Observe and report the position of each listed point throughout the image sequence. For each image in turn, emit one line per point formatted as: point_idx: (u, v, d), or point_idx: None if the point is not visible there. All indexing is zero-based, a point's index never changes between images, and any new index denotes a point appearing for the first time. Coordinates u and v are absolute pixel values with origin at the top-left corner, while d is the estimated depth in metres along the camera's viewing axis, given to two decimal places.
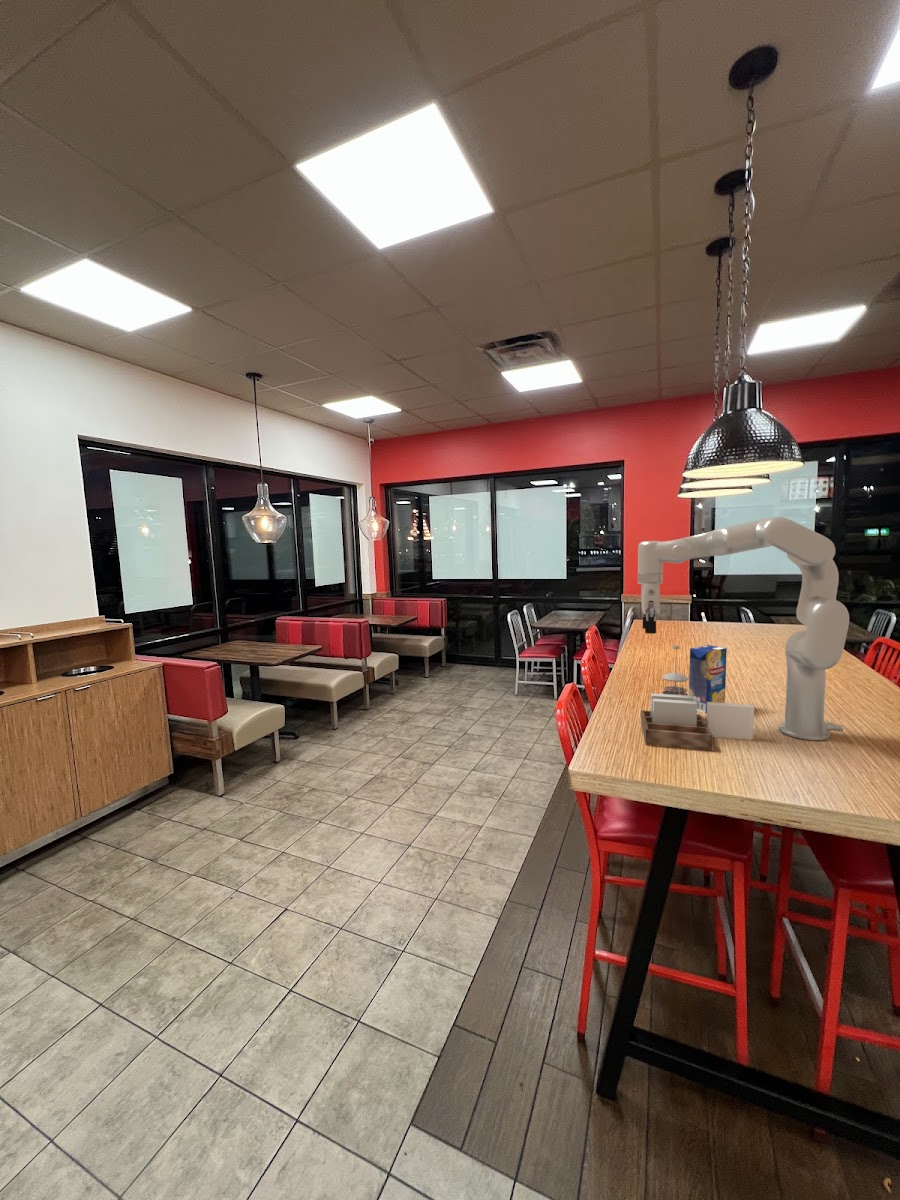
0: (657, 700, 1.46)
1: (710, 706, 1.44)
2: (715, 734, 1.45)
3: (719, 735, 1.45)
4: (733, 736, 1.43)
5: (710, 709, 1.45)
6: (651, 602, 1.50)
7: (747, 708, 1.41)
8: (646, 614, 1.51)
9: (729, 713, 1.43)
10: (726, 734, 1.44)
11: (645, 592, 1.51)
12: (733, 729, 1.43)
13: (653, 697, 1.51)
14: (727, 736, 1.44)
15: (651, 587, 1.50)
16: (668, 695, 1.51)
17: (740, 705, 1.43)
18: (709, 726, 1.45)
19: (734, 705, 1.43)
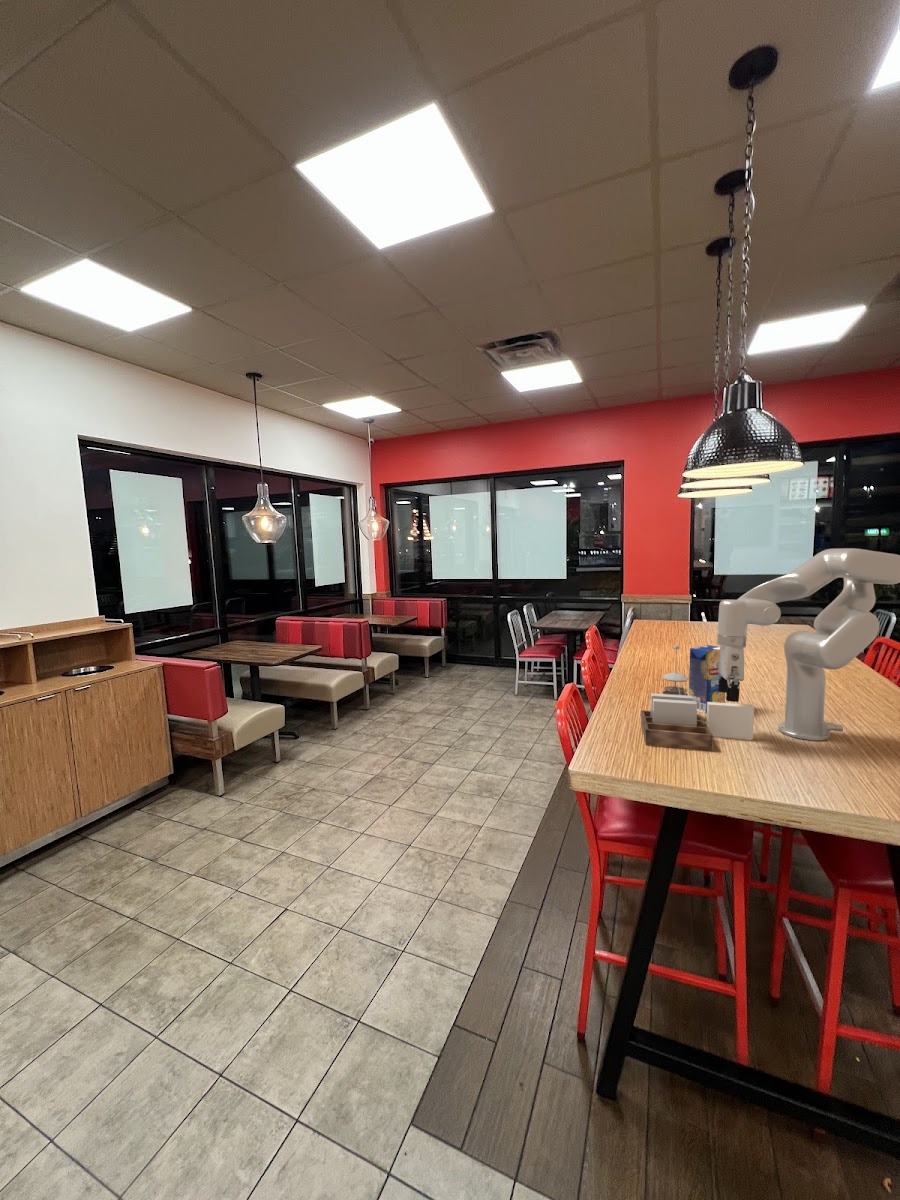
0: (657, 700, 1.46)
1: (710, 706, 1.44)
2: (715, 734, 1.45)
3: (719, 735, 1.45)
4: (733, 736, 1.43)
5: (710, 709, 1.45)
6: (735, 668, 1.38)
7: (747, 708, 1.41)
8: (728, 680, 1.39)
9: (729, 713, 1.43)
10: (726, 734, 1.44)
11: (728, 656, 1.39)
12: (733, 729, 1.43)
13: (653, 697, 1.51)
14: (727, 736, 1.44)
15: (735, 651, 1.38)
16: (668, 695, 1.51)
17: (740, 705, 1.43)
18: (709, 726, 1.45)
19: (734, 705, 1.43)
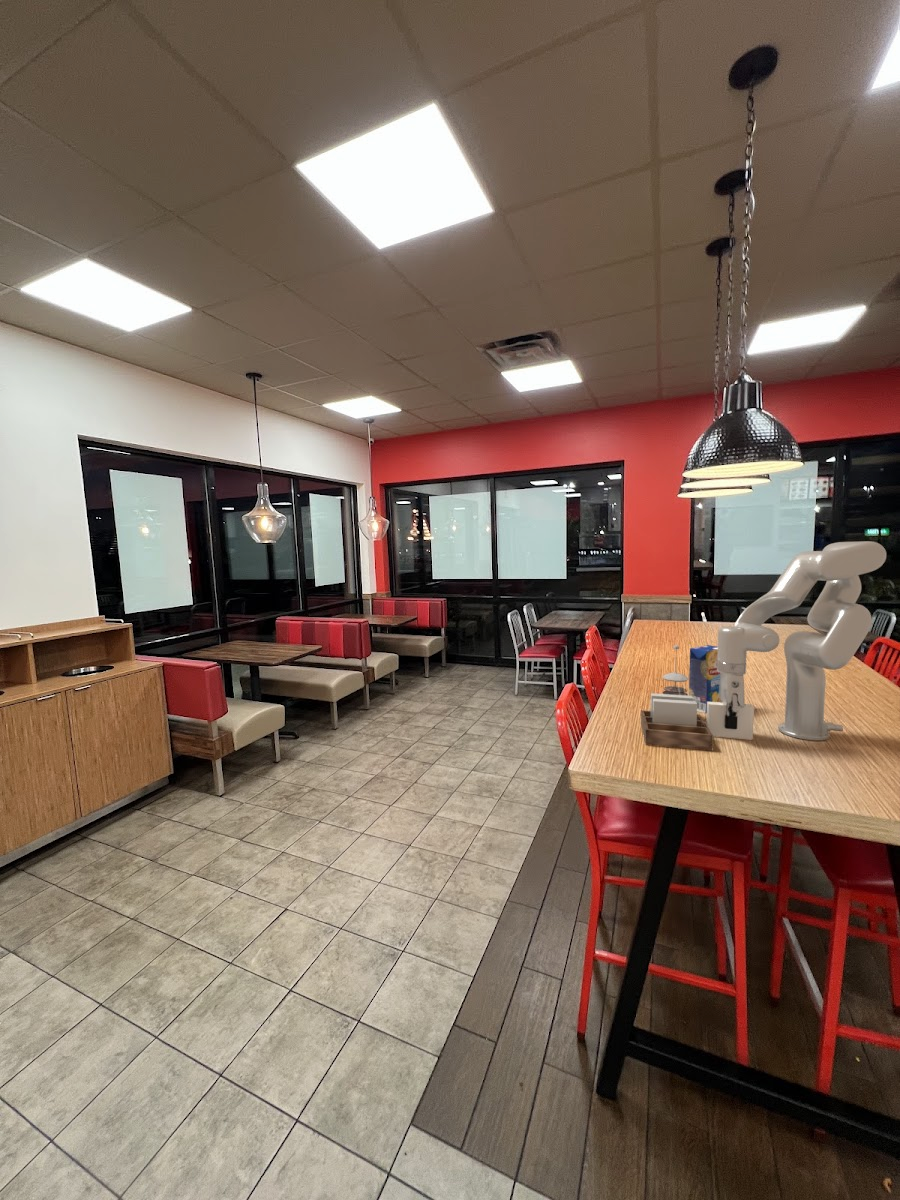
0: (657, 700, 1.46)
1: (710, 706, 1.44)
2: (715, 734, 1.45)
3: (719, 735, 1.44)
4: (733, 736, 1.43)
5: (710, 709, 1.45)
6: (734, 698, 1.39)
7: (747, 708, 1.41)
8: (727, 709, 1.42)
9: None
10: (726, 734, 1.44)
11: (728, 684, 1.40)
12: (733, 729, 1.43)
13: (653, 697, 1.51)
14: (727, 736, 1.44)
15: (735, 679, 1.39)
16: (668, 695, 1.51)
17: None
18: (709, 726, 1.45)
19: None
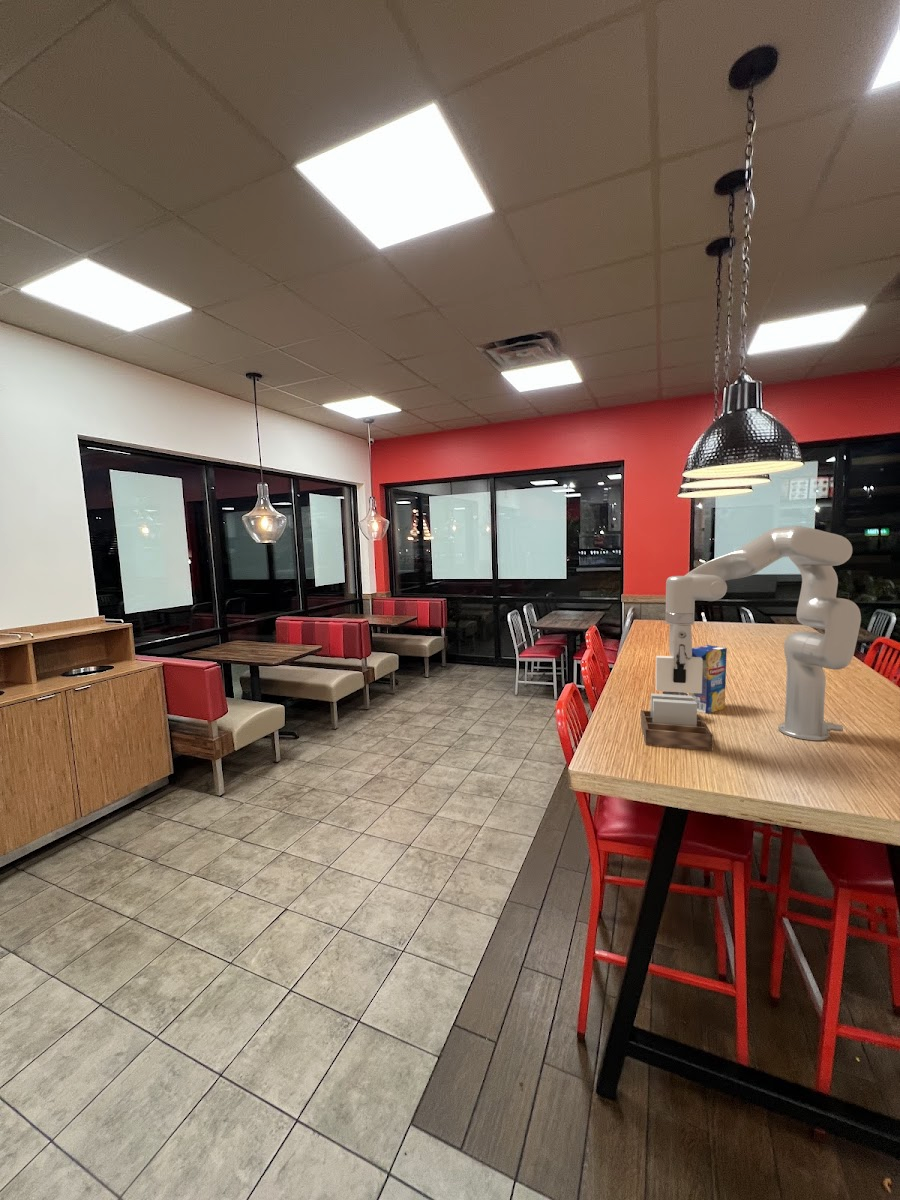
0: (657, 700, 1.46)
1: (658, 659, 1.39)
2: (663, 688, 1.39)
3: (668, 689, 1.39)
4: (682, 690, 1.37)
5: (658, 662, 1.39)
6: (682, 649, 1.33)
7: (695, 660, 1.36)
8: (675, 662, 1.36)
9: None
10: (675, 688, 1.38)
11: (675, 634, 1.34)
12: (682, 683, 1.37)
13: (653, 697, 1.51)
14: (676, 690, 1.38)
15: (682, 629, 1.33)
16: (668, 695, 1.51)
17: None
18: (657, 680, 1.39)
19: None
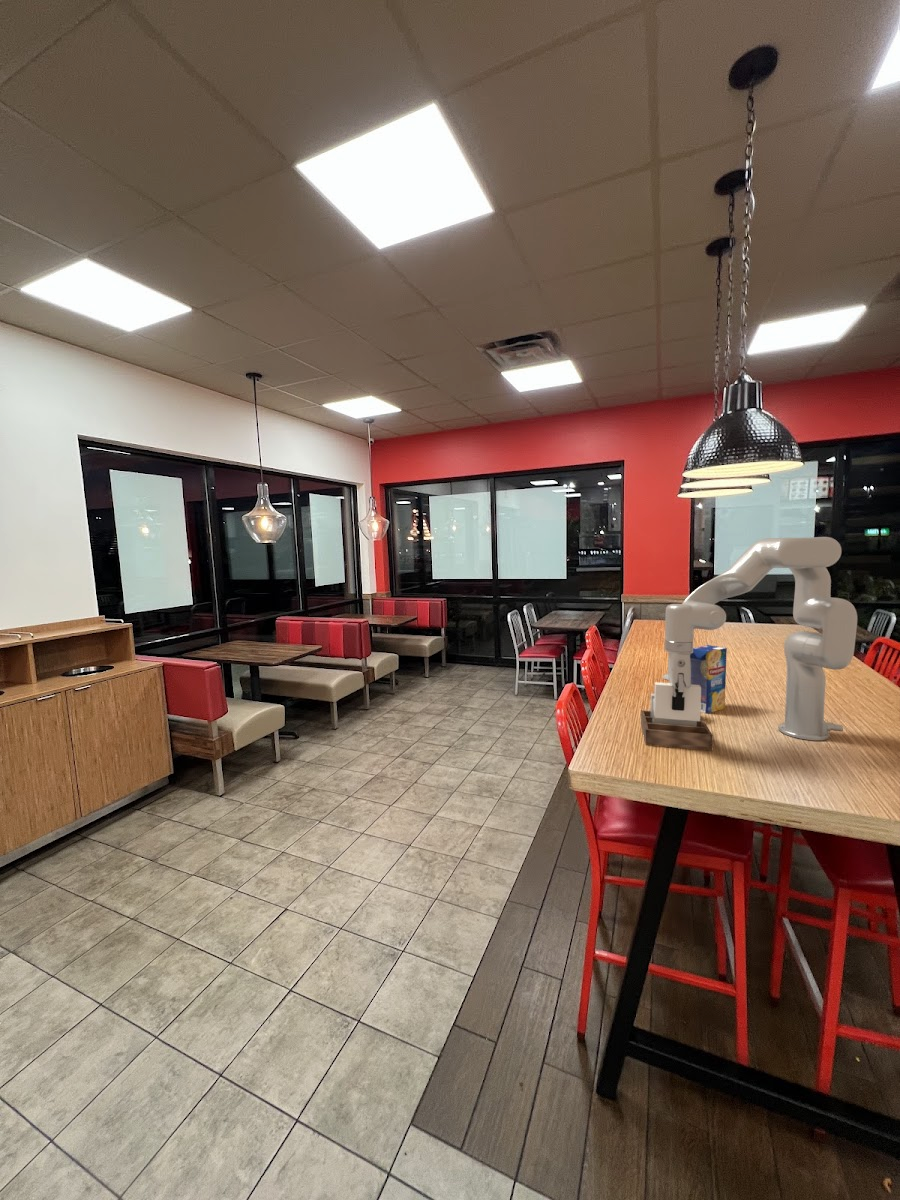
0: None
1: (657, 686, 1.39)
2: (662, 715, 1.40)
3: (666, 716, 1.39)
4: (680, 717, 1.38)
5: (657, 689, 1.39)
6: (680, 678, 1.34)
7: (694, 688, 1.36)
8: (674, 690, 1.37)
9: None
10: (673, 716, 1.39)
11: (674, 663, 1.34)
12: None
13: (653, 697, 1.51)
14: (674, 717, 1.39)
15: (681, 658, 1.34)
16: None
17: None
18: (656, 707, 1.40)
19: None
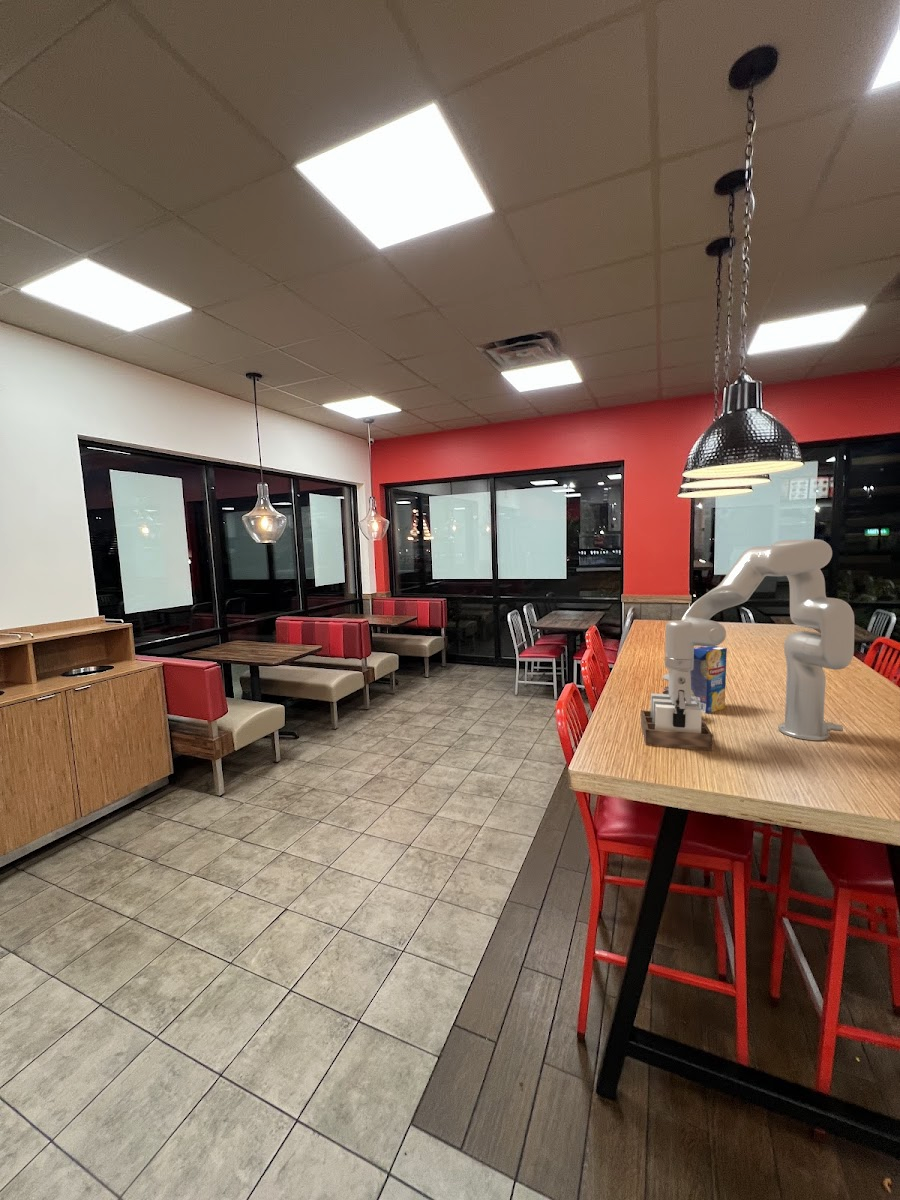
0: (657, 700, 1.46)
1: (657, 709, 1.40)
2: None
3: None
4: None
5: (657, 712, 1.40)
6: (681, 695, 1.34)
7: (695, 711, 1.37)
8: (674, 707, 1.36)
9: None
10: None
11: (674, 680, 1.35)
12: None
13: (653, 697, 1.51)
14: None
15: (681, 675, 1.34)
16: (668, 695, 1.51)
17: (688, 708, 1.38)
18: (657, 729, 1.41)
19: None
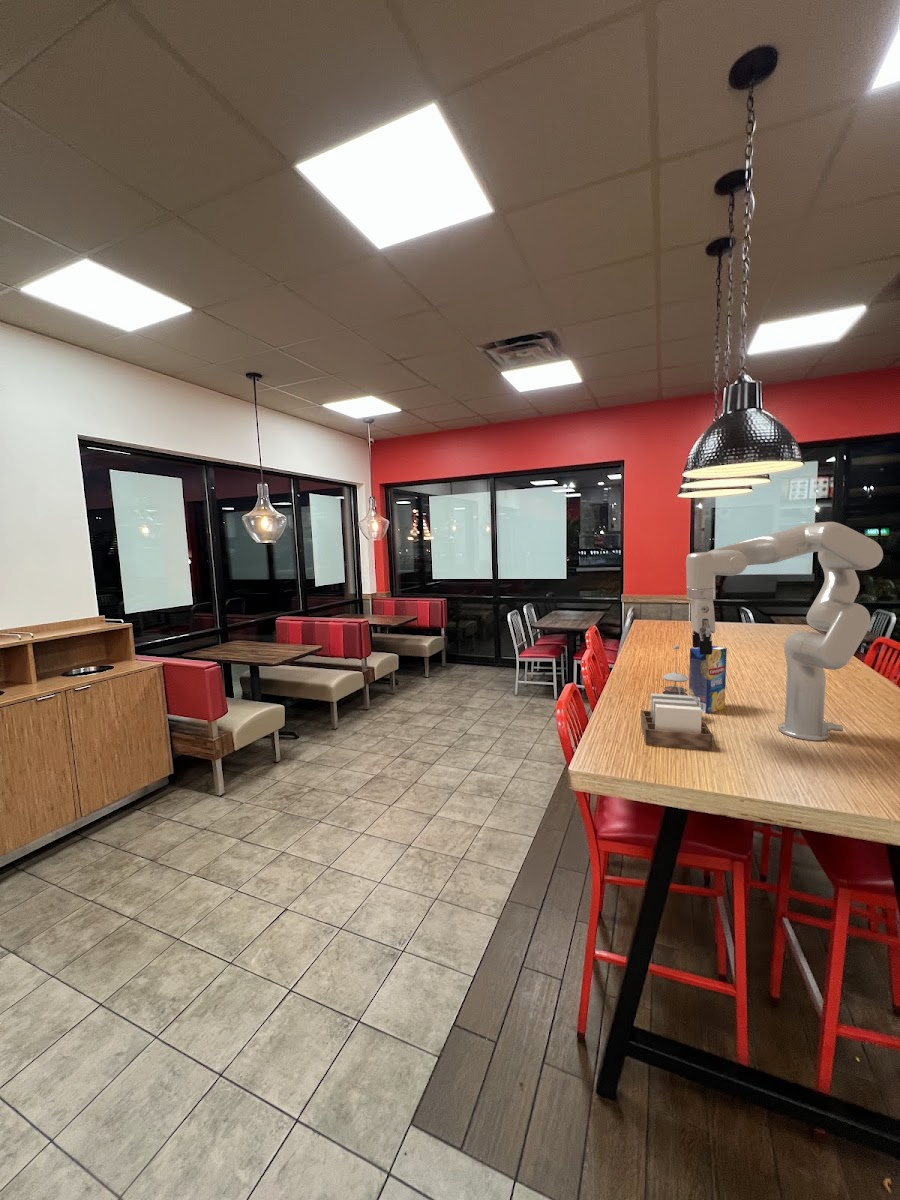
0: (657, 700, 1.46)
1: (657, 709, 1.40)
2: None
3: None
4: None
5: (657, 712, 1.40)
6: (705, 620, 1.36)
7: (695, 711, 1.37)
8: (700, 633, 1.37)
9: (677, 716, 1.39)
10: None
11: (698, 609, 1.37)
12: None
13: (653, 697, 1.51)
14: None
15: (704, 604, 1.36)
16: (668, 695, 1.51)
17: (688, 708, 1.38)
18: (657, 729, 1.41)
19: (682, 708, 1.39)
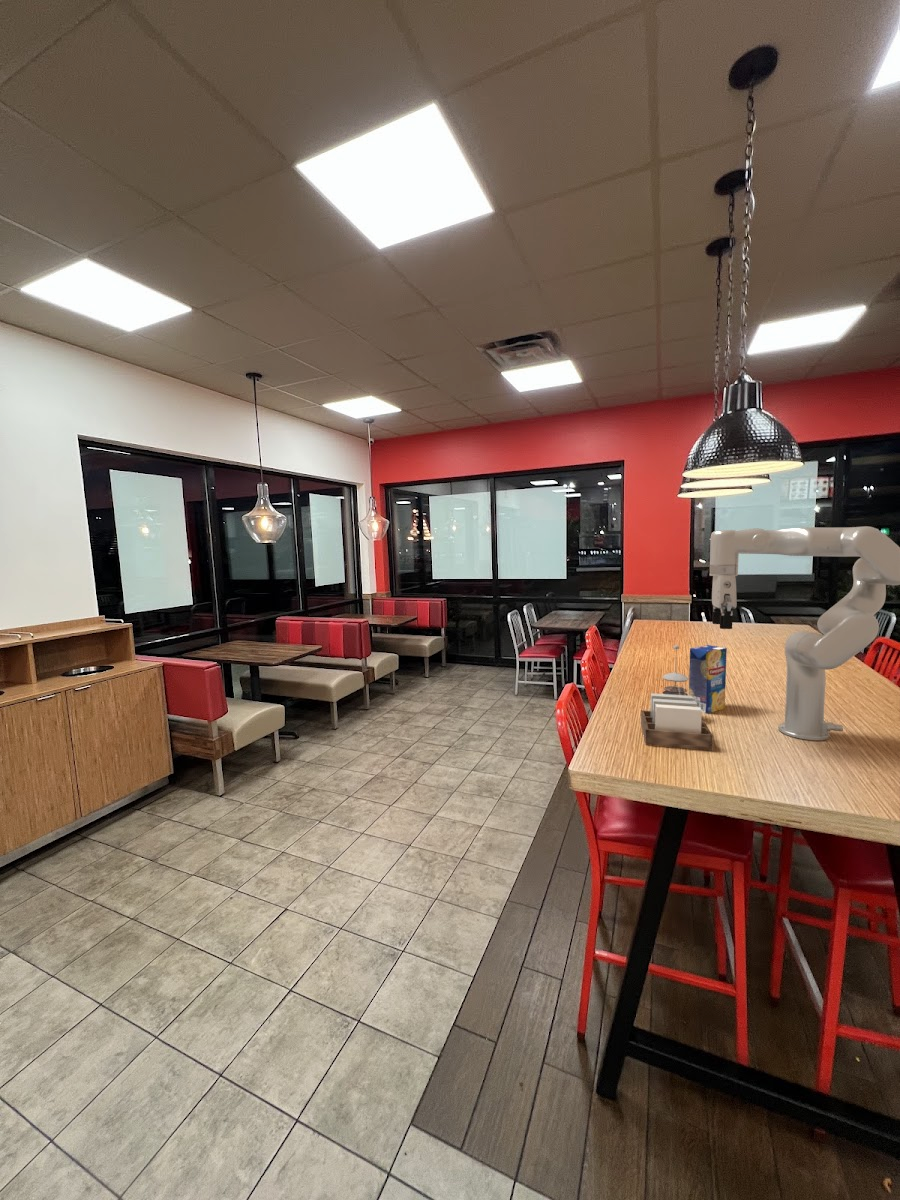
0: (657, 700, 1.46)
1: (657, 709, 1.40)
2: None
3: None
4: None
5: (657, 712, 1.40)
6: (727, 595, 1.40)
7: (695, 711, 1.37)
8: (721, 608, 1.41)
9: (677, 716, 1.39)
10: None
11: (720, 585, 1.41)
12: None
13: (653, 697, 1.51)
14: None
15: (727, 579, 1.41)
16: (668, 695, 1.51)
17: (688, 708, 1.38)
18: (657, 729, 1.41)
19: (682, 708, 1.39)
